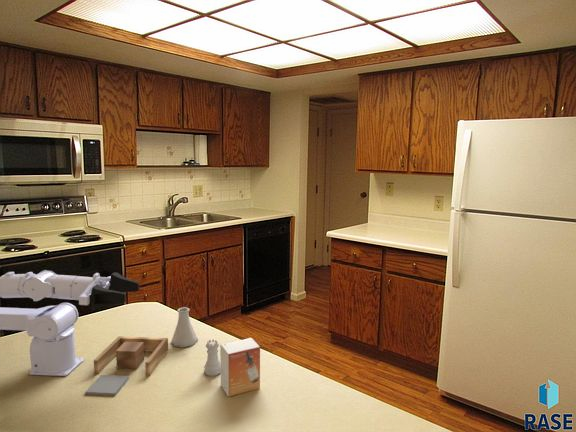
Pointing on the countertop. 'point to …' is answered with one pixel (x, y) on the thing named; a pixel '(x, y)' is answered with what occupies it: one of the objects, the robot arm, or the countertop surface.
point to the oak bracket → (149, 345)
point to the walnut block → (130, 355)
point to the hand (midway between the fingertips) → (132, 292)
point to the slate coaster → (107, 385)
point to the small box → (240, 366)
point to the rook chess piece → (212, 359)
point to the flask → (184, 330)
